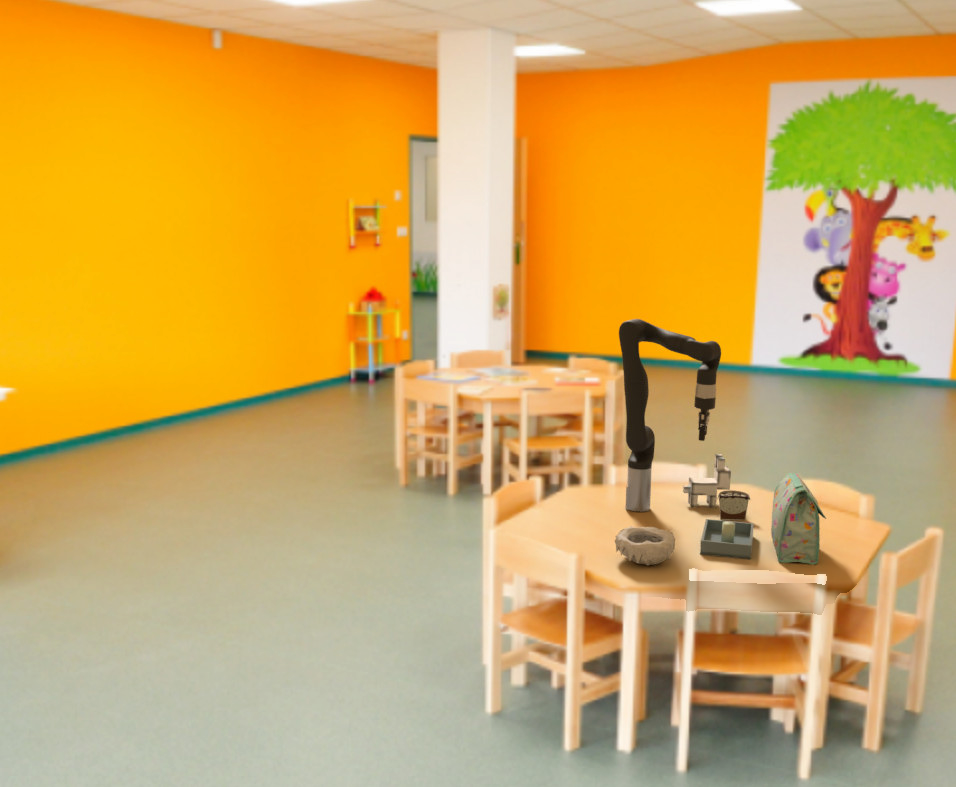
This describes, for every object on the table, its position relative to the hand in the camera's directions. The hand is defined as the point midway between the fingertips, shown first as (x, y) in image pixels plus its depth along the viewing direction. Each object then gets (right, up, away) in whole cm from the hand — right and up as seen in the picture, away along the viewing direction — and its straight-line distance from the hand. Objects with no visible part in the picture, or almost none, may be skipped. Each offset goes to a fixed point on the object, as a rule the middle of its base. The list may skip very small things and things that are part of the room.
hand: (702, 437), depth 373 cm
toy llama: (+7, -28, +29) cm, 41 cm away
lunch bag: (+27, -39, -24) cm, 53 cm away
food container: (+14, -32, +14) cm, 37 cm away
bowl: (-27, -41, -32) cm, 58 cm away
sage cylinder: (+5, -37, -17) cm, 40 cm away
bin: (+5, -38, -16) cm, 41 cm away
